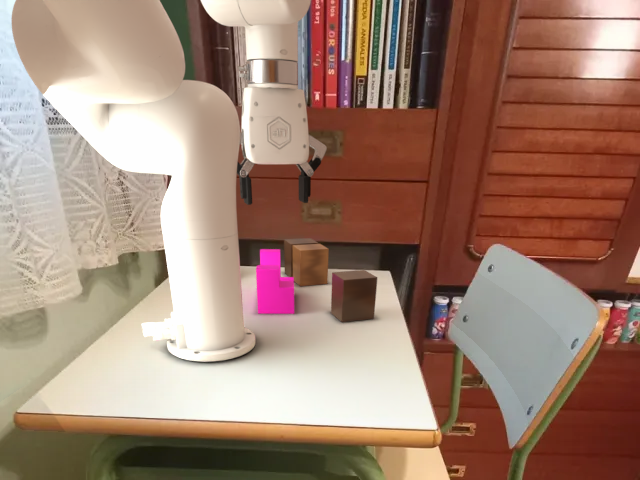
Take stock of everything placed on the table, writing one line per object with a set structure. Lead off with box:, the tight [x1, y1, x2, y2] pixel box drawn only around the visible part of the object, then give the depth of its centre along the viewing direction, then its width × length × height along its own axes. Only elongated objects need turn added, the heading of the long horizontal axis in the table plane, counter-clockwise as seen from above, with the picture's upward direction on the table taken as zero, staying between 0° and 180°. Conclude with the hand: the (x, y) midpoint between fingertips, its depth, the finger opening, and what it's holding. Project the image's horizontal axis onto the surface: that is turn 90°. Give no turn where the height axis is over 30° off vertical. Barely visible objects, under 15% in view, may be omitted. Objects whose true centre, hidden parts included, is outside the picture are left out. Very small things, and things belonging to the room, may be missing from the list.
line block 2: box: [330, 269, 378, 323], centre depth 81 cm, size 6×5×7 cm
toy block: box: [255, 248, 295, 315], centre depth 87 cm, size 15×6×8 cm, turn 3°
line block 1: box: [283, 237, 319, 277], centre depth 103 cm, size 6×5×7 cm
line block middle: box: [293, 243, 329, 287], centre depth 98 cm, size 6×5×7 cm
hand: (276, 202), depth 81 cm, fingers open, 9 cm apart
